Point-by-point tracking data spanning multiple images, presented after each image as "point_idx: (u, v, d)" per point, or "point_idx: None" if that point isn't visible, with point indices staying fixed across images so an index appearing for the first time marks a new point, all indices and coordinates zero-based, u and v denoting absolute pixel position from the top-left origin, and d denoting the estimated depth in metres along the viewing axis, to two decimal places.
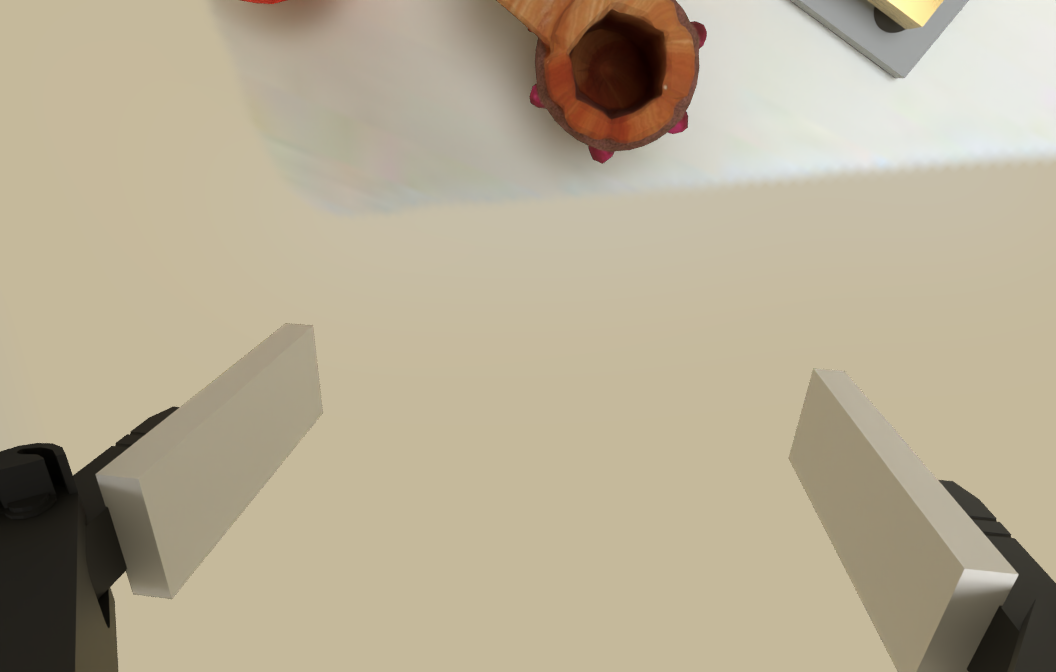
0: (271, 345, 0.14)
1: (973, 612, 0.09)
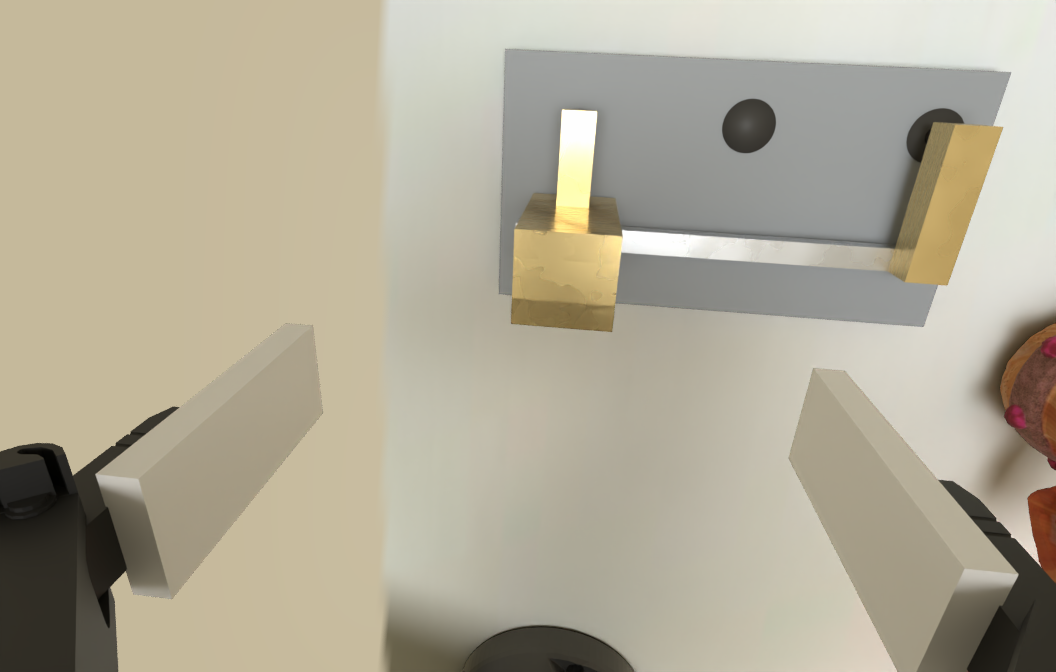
0: (271, 345, 0.14)
1: (973, 612, 0.09)
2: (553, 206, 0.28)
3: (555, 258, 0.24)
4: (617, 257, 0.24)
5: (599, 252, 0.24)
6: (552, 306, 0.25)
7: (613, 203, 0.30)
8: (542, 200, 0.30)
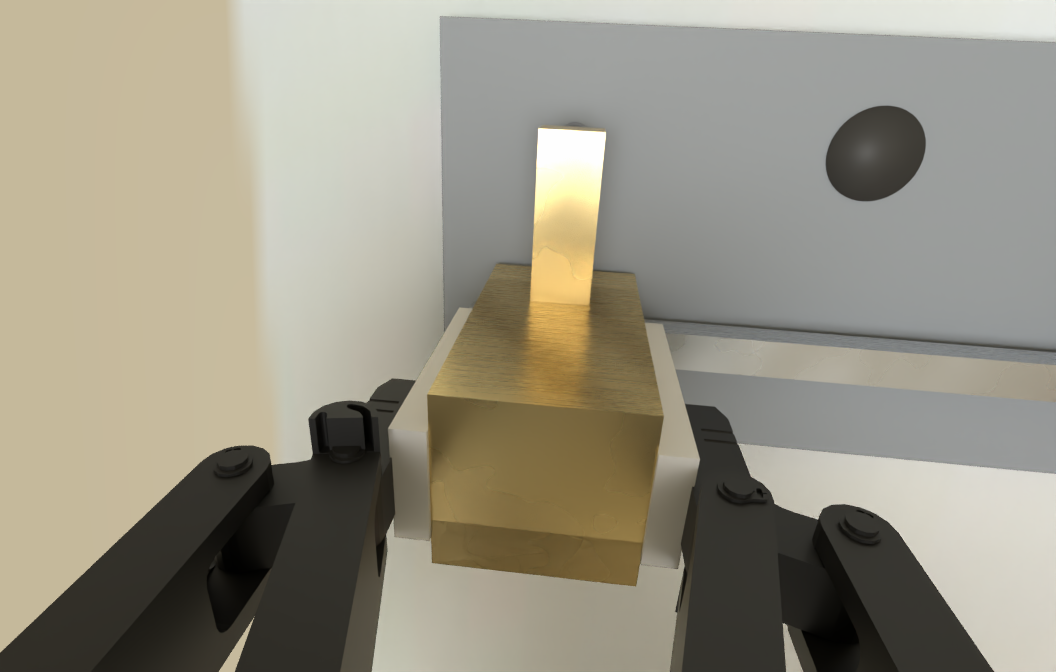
0: (460, 326, 0.16)
1: (674, 493, 0.11)
2: (524, 303, 0.15)
3: (517, 453, 0.11)
4: (651, 455, 0.11)
5: (610, 446, 0.11)
6: (515, 537, 0.12)
7: (632, 289, 0.17)
8: (507, 285, 0.17)
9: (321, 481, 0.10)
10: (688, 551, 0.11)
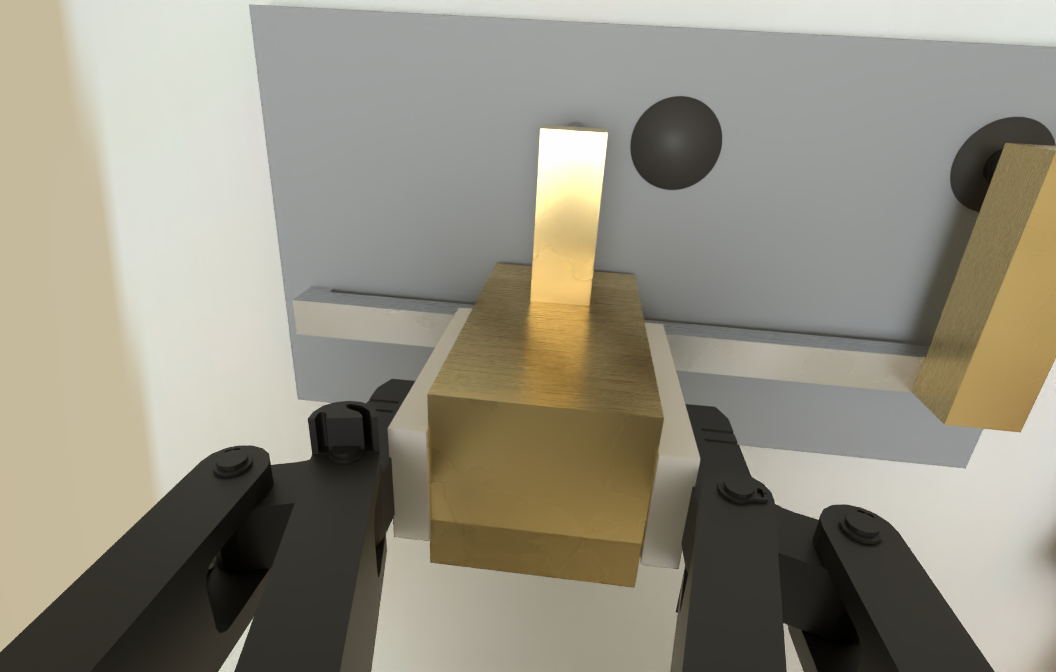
0: (460, 326, 0.16)
1: (674, 493, 0.11)
2: (524, 303, 0.15)
3: (517, 453, 0.11)
4: (650, 457, 0.11)
5: (610, 447, 0.11)
6: (513, 537, 0.12)
7: (632, 290, 0.17)
8: (507, 285, 0.17)
9: (320, 481, 0.10)
10: (688, 551, 0.11)
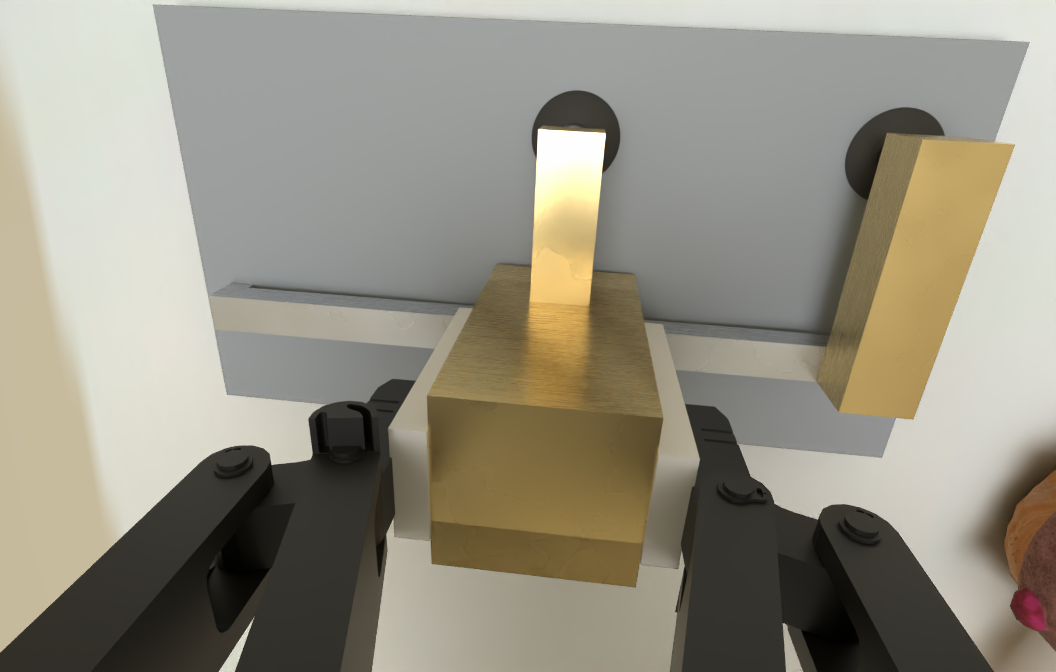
0: (460, 326, 0.16)
1: (674, 492, 0.11)
2: (524, 304, 0.15)
3: (517, 454, 0.11)
4: (650, 457, 0.11)
5: (610, 447, 0.11)
6: (514, 538, 0.12)
7: (632, 290, 0.17)
8: (507, 286, 0.17)
9: (321, 481, 0.10)
10: (688, 551, 0.11)
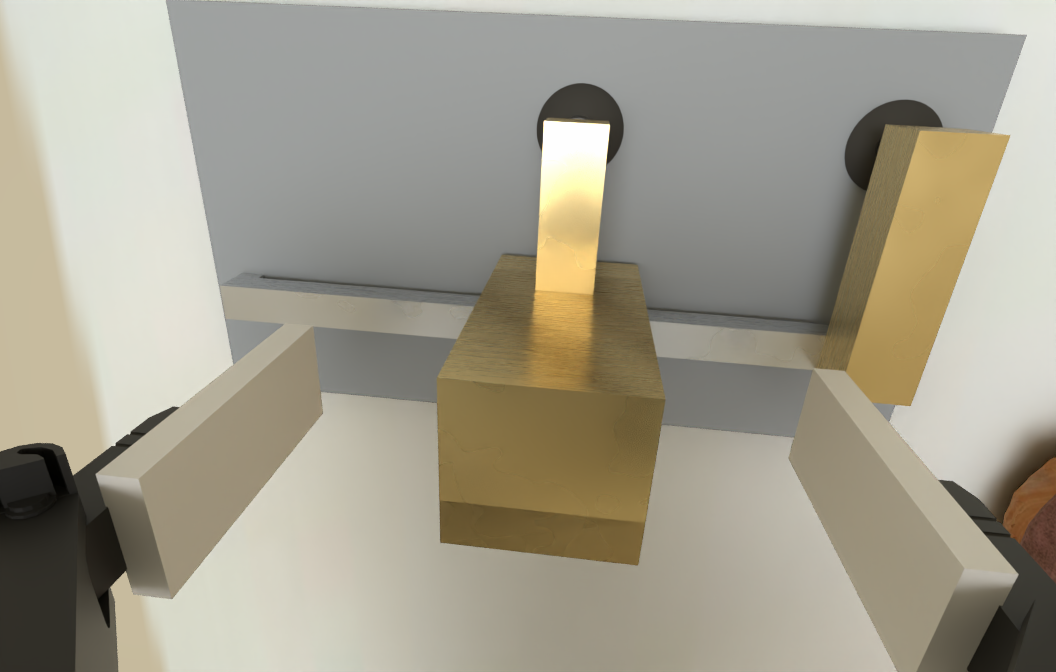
0: (271, 345, 0.14)
1: (973, 612, 0.09)
2: (529, 293, 0.16)
3: (523, 435, 0.12)
4: (652, 437, 0.11)
5: (614, 427, 0.11)
6: (520, 517, 0.13)
7: (635, 279, 0.17)
8: (512, 275, 0.17)
9: (0, 545, 0.08)
10: None
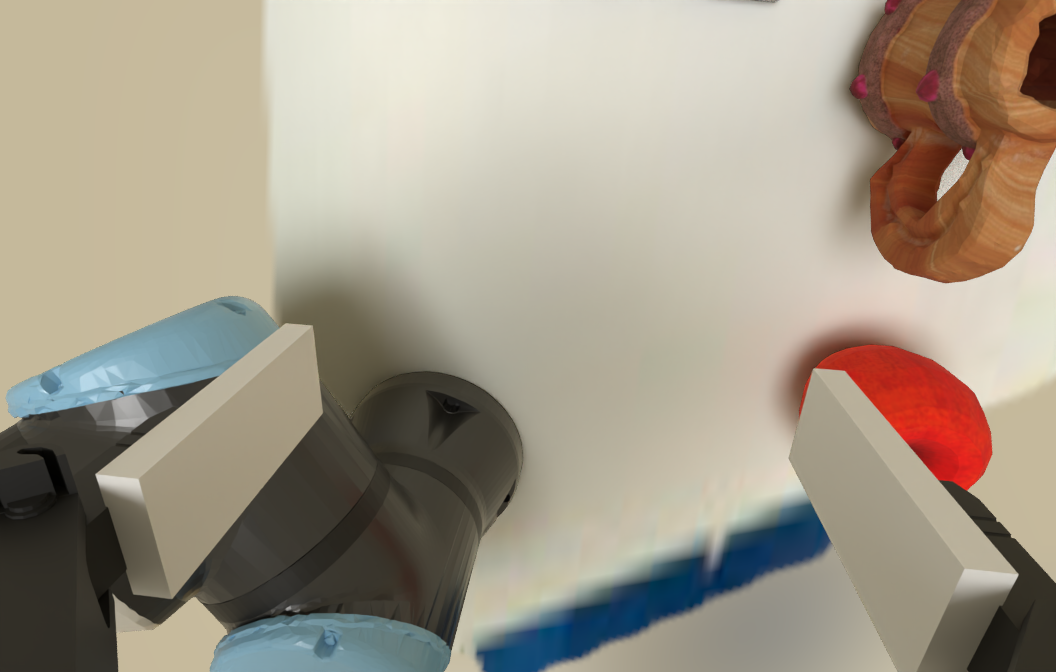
0: (271, 345, 0.14)
1: (973, 612, 0.09)
2: None
3: None
4: None
5: None
6: None
7: None
8: None
9: (0, 545, 0.08)
10: None
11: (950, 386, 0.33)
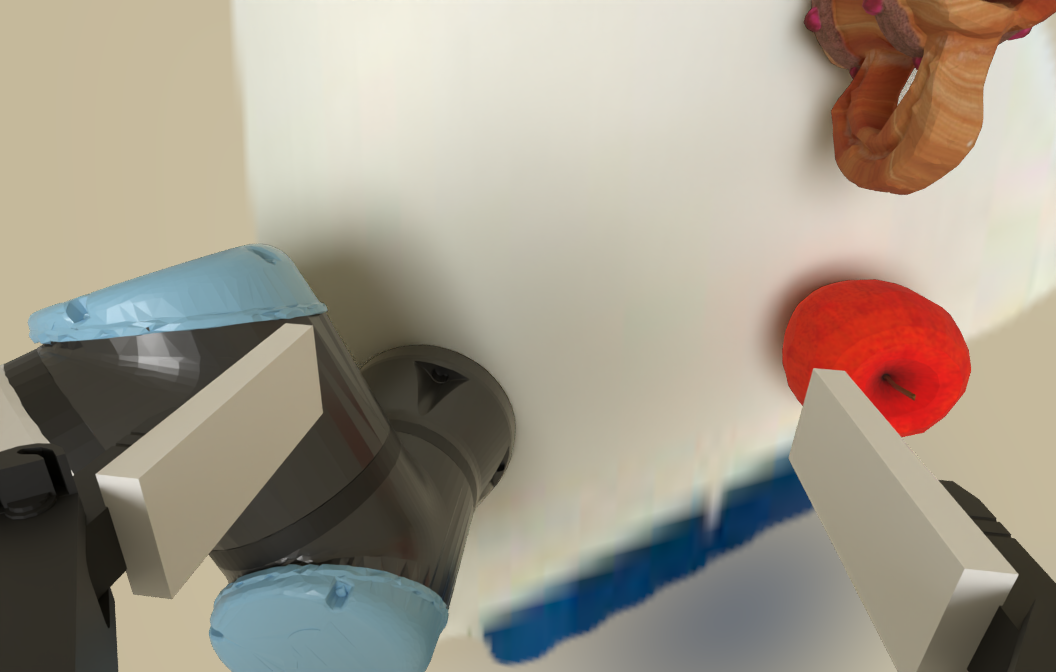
0: (271, 346, 0.14)
1: (973, 612, 0.09)
2: None
3: None
4: None
5: None
6: None
7: None
8: None
9: (0, 545, 0.08)
10: None
11: (925, 307, 0.33)
